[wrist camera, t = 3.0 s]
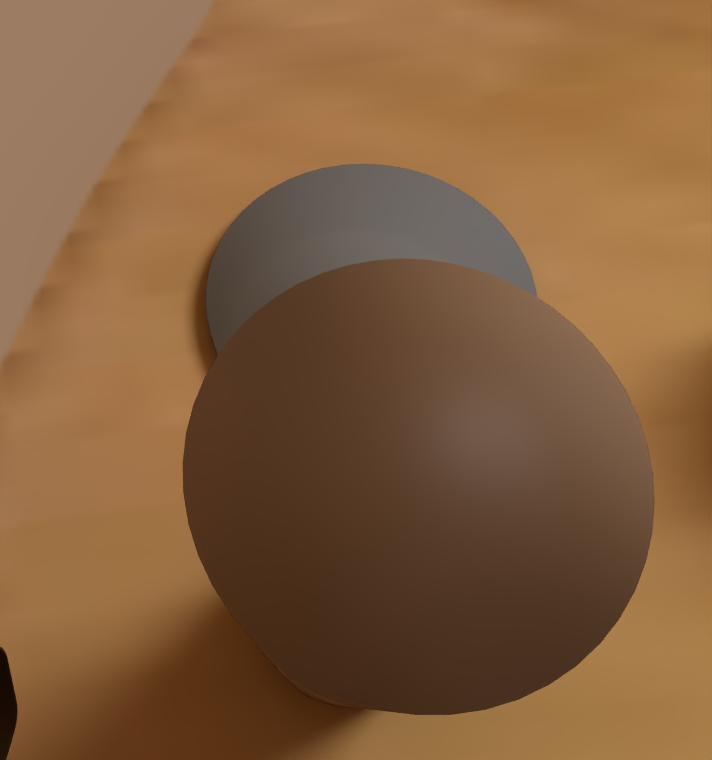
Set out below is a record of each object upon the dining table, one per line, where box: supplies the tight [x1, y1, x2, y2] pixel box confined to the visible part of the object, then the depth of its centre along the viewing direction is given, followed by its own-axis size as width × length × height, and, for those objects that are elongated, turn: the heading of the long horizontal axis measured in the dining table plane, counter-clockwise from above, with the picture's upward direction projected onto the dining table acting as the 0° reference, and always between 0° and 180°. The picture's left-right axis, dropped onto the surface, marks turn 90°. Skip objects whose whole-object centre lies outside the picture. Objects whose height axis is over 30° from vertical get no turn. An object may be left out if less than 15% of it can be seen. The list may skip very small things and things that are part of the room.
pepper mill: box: [183, 259, 654, 715], centre depth 13 cm, size 5×5×13 cm
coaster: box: [206, 164, 537, 355], centre depth 23 cm, size 11×11×1 cm
